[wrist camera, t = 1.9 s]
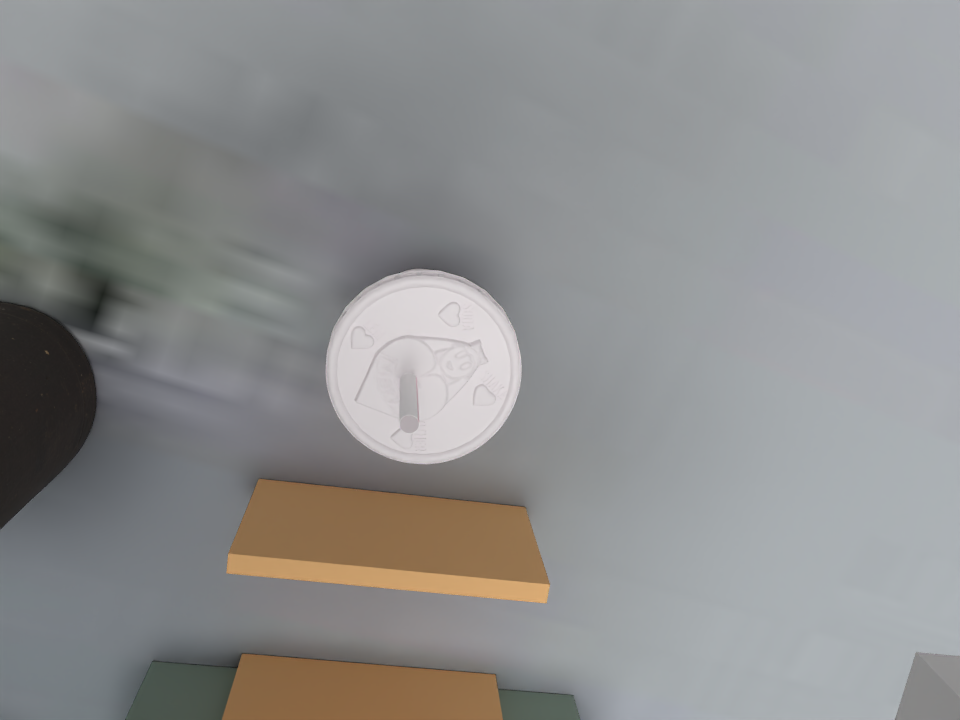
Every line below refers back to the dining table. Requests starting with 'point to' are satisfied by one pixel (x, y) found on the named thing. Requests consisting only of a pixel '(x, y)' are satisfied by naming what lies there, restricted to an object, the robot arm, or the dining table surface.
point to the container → (39, 404)
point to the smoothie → (423, 366)
